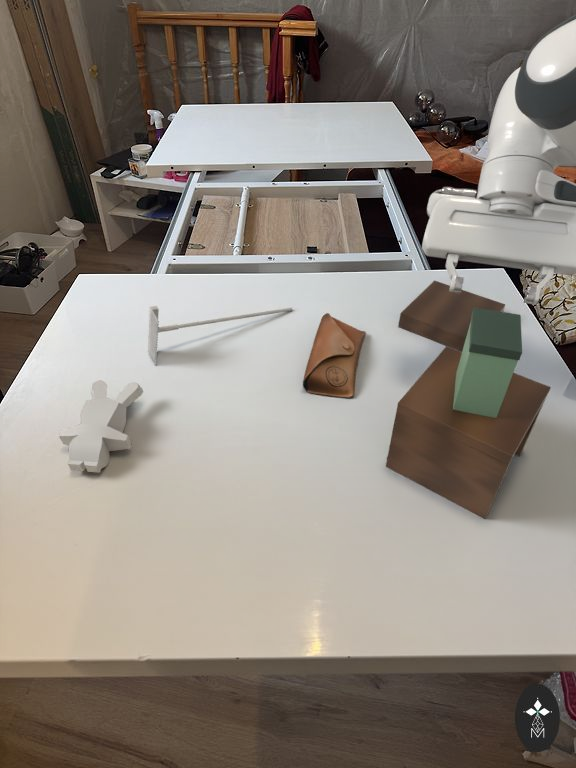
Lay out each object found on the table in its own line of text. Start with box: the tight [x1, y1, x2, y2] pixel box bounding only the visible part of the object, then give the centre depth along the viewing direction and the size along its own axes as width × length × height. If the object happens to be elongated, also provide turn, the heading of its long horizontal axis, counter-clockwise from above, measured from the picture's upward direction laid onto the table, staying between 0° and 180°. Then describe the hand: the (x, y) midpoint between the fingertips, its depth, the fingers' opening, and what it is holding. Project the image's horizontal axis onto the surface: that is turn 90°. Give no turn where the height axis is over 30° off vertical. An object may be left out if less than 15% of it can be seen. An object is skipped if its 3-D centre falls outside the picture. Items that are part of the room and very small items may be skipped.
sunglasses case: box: [302, 312, 367, 399], centre depth 88 cm, size 18×7×7 cm, turn 169°
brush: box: [147, 305, 293, 366], centre depth 93 cm, size 4×28×9 cm, turn 119°
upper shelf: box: [385, 345, 552, 520], centre depth 69 cm, size 14×14×12 cm
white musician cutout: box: [58, 380, 144, 473], centre depth 75 cm, size 10×5×15 cm
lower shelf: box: [397, 280, 506, 352], centre depth 96 cm, size 14×14×3 cm
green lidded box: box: [453, 308, 523, 418], centre depth 62 cm, size 7×5×10 cm
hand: (492, 297), depth 69 cm, fingers open, 8 cm apart
